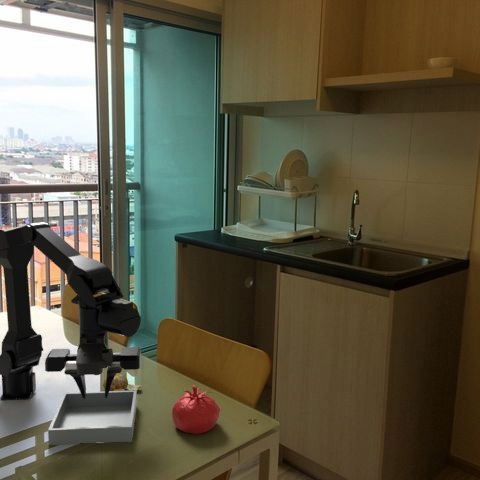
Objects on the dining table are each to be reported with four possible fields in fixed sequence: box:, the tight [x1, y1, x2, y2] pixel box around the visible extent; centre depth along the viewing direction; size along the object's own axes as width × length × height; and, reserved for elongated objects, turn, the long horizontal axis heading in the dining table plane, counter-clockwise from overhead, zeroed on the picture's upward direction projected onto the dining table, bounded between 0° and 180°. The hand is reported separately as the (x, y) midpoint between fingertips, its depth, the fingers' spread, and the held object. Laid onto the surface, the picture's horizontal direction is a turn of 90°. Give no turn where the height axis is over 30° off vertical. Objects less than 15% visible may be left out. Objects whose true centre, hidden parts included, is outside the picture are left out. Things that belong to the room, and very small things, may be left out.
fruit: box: [102, 372, 142, 391], centre depth 130 cm, size 8×8×4 cm
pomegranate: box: [171, 384, 221, 435], centre depth 114 cm, size 10×10×9 cm
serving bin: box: [47, 390, 138, 446], centre depth 114 cm, size 16×16×4 cm
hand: (95, 397), depth 113 cm, fingers open, 4 cm apart
